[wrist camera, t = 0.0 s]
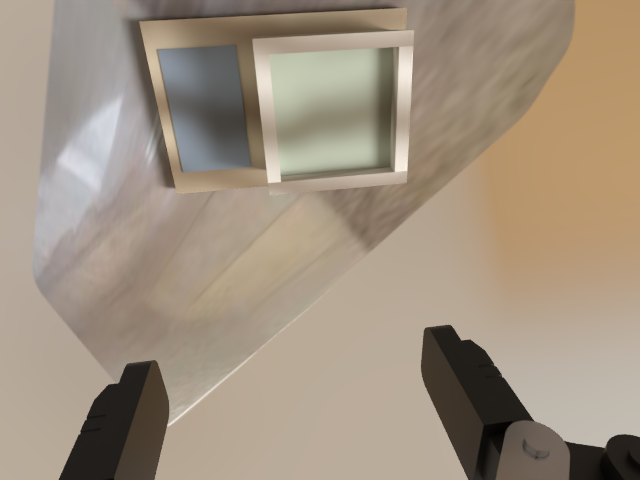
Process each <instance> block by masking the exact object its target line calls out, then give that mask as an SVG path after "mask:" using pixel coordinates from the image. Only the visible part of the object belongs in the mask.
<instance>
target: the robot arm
mask: <svg viewBox="0 0 640 480" xmlns="http://www.w3.org/2000/svg"><path fill="white" fill-rule="evenodd" d="M421 372H422V377H423V381H424V384H425V387H426V388H427V391H428V393H429V395H430V398H431V400H432V402H433V404H434V406H435V408H436V411H437V413H438V415H439V417H440V419H441V421H442V424H443V426H444V428H445V430H446V432H447V434H448V437H449V439H450V441H451V443H452V445H453V447H454V449H455V452H456V454H457V456H458V458H459V460H460V463H461V465H462V467H463V469H464V471H465V473H466V476H467V478H468V480H640V437H637V436H633V435H626V434H624V435H616V436H614V437H612V438H611V439H609V441H608V442H607V445H606V447H605V448H602V447H595V446H588V445H582V444H575V443H570V442H566V441H563V439H562V438H561V437H560V436H559V435H558V434H557V433H556V432H555V431H553V430H552V429H550V428H549V427H547V426H545V425H543V424H541V423H537V422H535V421H534V420H533V419H532V417H531V416H530V414H529V413H528V412H527V410H526V409H525V407H524V406H523V405H522V403H521V402H520V400H519V399H518V397H517V396H516V394H515V393H514V392H513V390H512V389H511V387H510V386H509V384H508V383H507V382H506V380H505V379H504V378H502V375H501V373H500V371H499V370H498V369H497V367H496V366H494V363H493V361H492V360H491V359H490V357H489V356H488V354H487V353H486V351H485V350H484V349H482V348H481V347H480V346H478V345H477V344H475V343H474V342H473V341H471V340H463V341H461V339H460V338H459V336H458V335H457V333H456V332H455V330H454V328H453V327H452V326H451V325H444V326H436V327H427V328H425V330H424V336H423V348H422V360H421ZM168 419H169V400H168V395H167V392H166V389H165V385H164V382H163V379H162V375H161V372H160V369H159V366H158V363H157V362H156V361H155V360H153V361H145V362H137V363H129V364H127V365H126V367H125V369H124V371H123V374H122V377H121V379H120V382H119V383H118V384H110V385H108V386H107V387H106V388H105V389H104V390H103V391H102V392H101V393H100V395H99V396H98V397H97V398H96V399H95V400H94V402H93V404H92V406H91V409H90V411H89V413H88V415H87V420H85V422H84V424H83V426H82V429H81V434H80V435H78V438H77V440H76V442H75V445H74V447H73V449H72V451H71V453H70V456H69V458H68V460H67V462H66V465H65V467H64V469H63V471H62V473H61V476H60V478H59V480H154V479H155V474H156V470H157V466H158V462H159V457H160V453H161V449H162V444H163V440H164V436H165V431H166V428H167V423H168Z"/></svg>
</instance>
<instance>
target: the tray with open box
mask: <svg viewBox="0 0 640 480" xmlns="http://www.w3.org/2000/svg"><path fill="white" fill-rule="evenodd" d="M406 18H407V8H394V9H375V10H355V11H335V12H316V13H296V14H277V15H257V16H237V17H218V18H198V19H178V20H159V21H139V24H140V28H141V33H142V37H143V42H144V46H145V51H146V56H147V60H148V65H149V69H150V74H151V79H152V83H153V88H154V92H155V97H156V101H157V106H158V111H159V115H160V120H161V124H162V129H163V133H164V138H165V143H166V147H167V152H168V156H169V161H170V166H171V170H172V175H173V179H174V184H175V188H176V193H177V194H182V193H193V192H205V191H216V190H227V189H239V188H250V187H261V186H268V187H269V195H279V194H290V193H301V192H312V191H323V190H334V189H345V188H356V187H367V186H378V185H389V184H401V183H407V164H408V144H409V124H410V104H411V83H412V63H413V43H414V30H406Z"/></svg>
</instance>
